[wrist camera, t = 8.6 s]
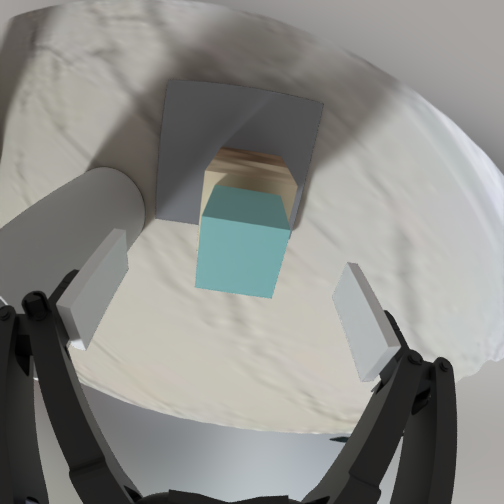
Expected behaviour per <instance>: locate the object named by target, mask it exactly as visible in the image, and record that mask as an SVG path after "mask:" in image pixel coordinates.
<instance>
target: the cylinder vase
mask: <svg viewBox="0 0 504 504" xmlns="http://www.w3.org/2000/svg"><path fill="white" fill-rule="evenodd" d="M144 221H145V207H144V202H143V199H142V196H141V194H140V192H139V190H138V188H137V186H136V185H135V184H134V182H133V181H132V180H131V179H130V178H129V177H128V176H126V175H125V174H123V173H122V172H120V171H118V170H116V169H112V168H107V167H99V168H95V169H92V170H89V171H88V172H86V173H84V174H82V175H80V176H79V177H77V178H75V179H73V180H72V181H70V182H68V183H67V184H65V185H63V186H62V187H60V188H58V189H57V190H55V191H53V192H52V193H50V194H49V195H47V196H46V197H44V198H43V199H41V200H39V201H38V202H37V203H35V204H34V205H32V206H31V207H29V208H28V209H26V210H25V211H24V212H22V213H21V214H19V215H18V216H17V217H15V218H14V219H13V220H11V221H10V222H9V223H7V224H6V225H5V226H4V227H2V228H1V229H0V308H1V307H2V306H5V305H11V306H13V307H14V309H15V311H16V313H17V314H25V312H24V310H23V308H22V305H21V303H22V299H23V298H24V296H25V295H27V294H28V293H30V292H32V291H37V290H38V291H42V292H44V293H45V294H46V297H47V299H48V298H49V297H50V296H51V294H52V293H53V292H54V290H55V289H56V287H58V285H59V283H60V282H62V280H63V278H64V277H65V276H66V274H68V273H69V272H71V271H72V270H74V269H76V270H81V268H82V267H83V266H84V264H85V263H86V262H87V261H88V259H89V258H90V257H91V256H92V254H93V253H94V252H95V251H96V249H97V248H98V247H99V246H100V244H101V243H102V242H103V241H104V240H105V238H106V237H107V236H108V235H109V234H110V233H111V231H112V230H113V229H114V228H115V229H122V230H126V244H127V251H128V250H129V249H130V247H131V246H132V244H133V243H134V242H135V240H136V239H137V238H138V236H139V235H140V233H141V231H142V229H143V226H144ZM70 343H71V342H70V339H69V341H68V343H67V345H66V346H67V348H68V347H69V345H70ZM34 379H35V380H38V377H37V373H36V368H35V363H34Z"/></svg>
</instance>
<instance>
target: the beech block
mask: <svg viewBox="0 0 504 504" xmlns="http://www.w3.org/2000/svg"><path fill="white" fill-rule="evenodd" d="M215 185H221V186H228V187H234V188H240V189H246V190H252V191H258V192H264V193H269V194H275V195H280V196H281V199H282V202H283V206H284V209H285V212H286V216H287V219H288V222H289V219H290V215H291V211H292V207H293V203H294V199H295V195H296V191H297V187H298V186H297V184H296V182H295V180H294V178H293V176H292V175H291V173H290V171H289V169H288V168H285V167H280V166H275V165H269V164H264V163H258V162H252V161H247V160H240V159H234V158H227V157H221V156H215V157H214V158H213V160H212V161H211V163H210V164H209V165H208V167H207V168H206V170H205V175H204V183H203V191H202V200H201V209H200V219H199V229H198V239H197V251H198V247H199V236H200V226H201V217H202V214H203V211H204V209H205V207H206V204H207V202H208V200H209V197H210V195H211V192H212V190H213V188H214V186H215Z"/></svg>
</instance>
